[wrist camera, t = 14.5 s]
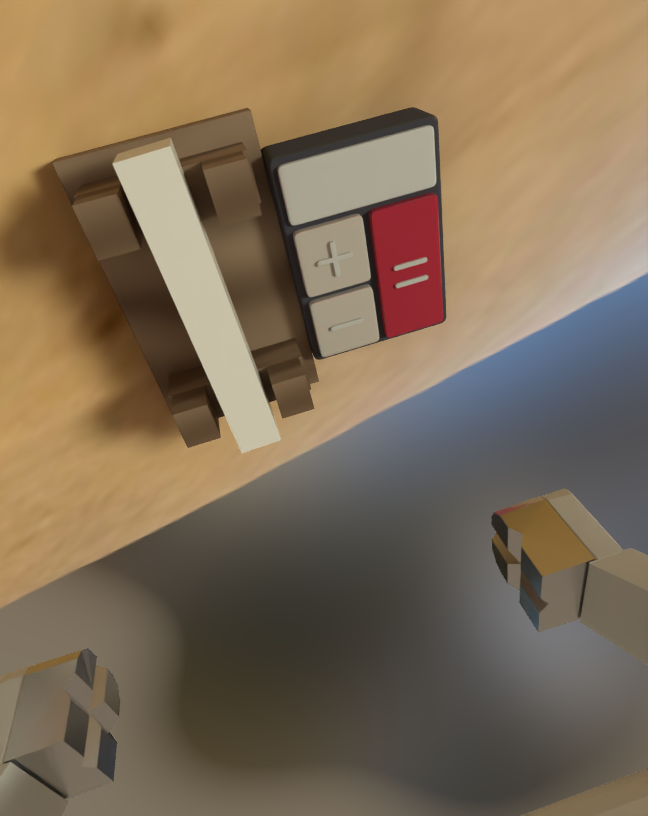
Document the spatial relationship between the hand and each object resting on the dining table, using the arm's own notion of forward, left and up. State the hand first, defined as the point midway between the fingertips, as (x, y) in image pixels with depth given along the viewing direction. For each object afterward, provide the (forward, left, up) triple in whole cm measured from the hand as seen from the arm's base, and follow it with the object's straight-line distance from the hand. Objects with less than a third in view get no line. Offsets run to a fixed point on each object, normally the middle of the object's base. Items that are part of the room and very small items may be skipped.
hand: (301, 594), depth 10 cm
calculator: (+5, +9, -32) cm, 34 cm away
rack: (+5, -2, -31) cm, 32 cm away
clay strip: (+5, -2, -27) cm, 27 cm away
